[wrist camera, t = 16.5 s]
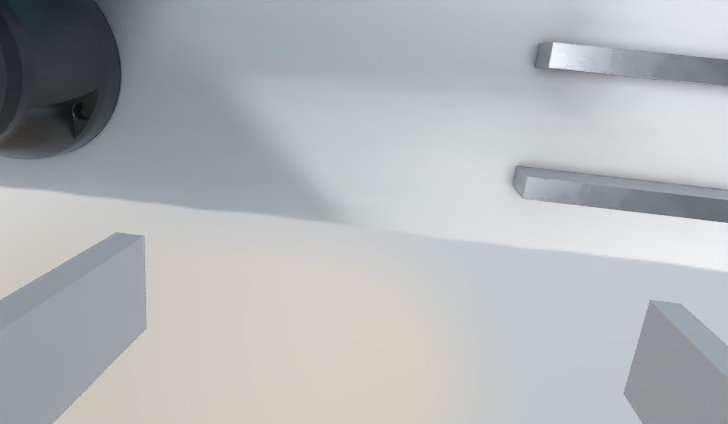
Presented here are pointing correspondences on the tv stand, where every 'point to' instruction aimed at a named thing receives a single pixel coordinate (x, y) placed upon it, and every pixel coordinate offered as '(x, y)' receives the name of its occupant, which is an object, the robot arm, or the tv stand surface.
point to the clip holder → (624, 190)
